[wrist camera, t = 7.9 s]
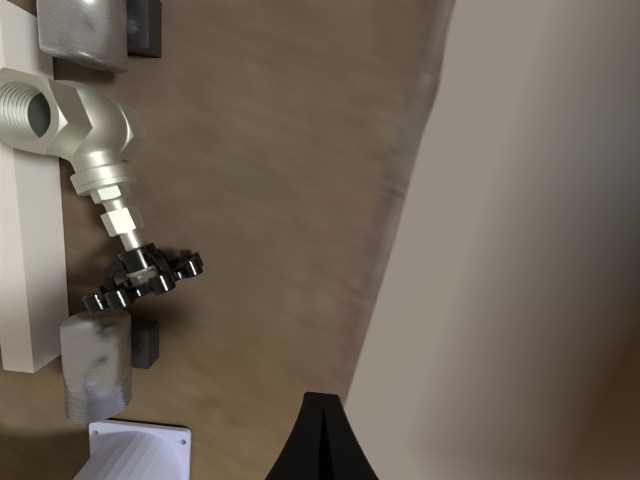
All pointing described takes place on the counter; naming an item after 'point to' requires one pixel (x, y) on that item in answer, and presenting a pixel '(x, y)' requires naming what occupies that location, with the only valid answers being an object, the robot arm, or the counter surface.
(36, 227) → the bar
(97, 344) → the pipe stubs
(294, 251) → the counter surface
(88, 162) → the valve
